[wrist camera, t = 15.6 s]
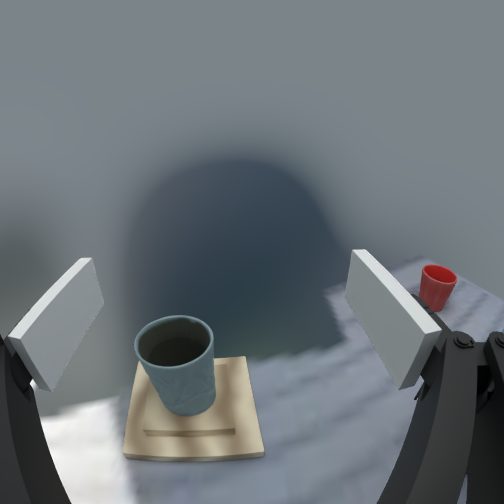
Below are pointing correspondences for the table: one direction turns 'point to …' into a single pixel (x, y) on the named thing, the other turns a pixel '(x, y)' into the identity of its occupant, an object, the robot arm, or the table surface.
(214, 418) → the stepped square base
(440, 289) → the flower pot
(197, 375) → the blue-grey embossed cup
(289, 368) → the table surface
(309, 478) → the table surface
